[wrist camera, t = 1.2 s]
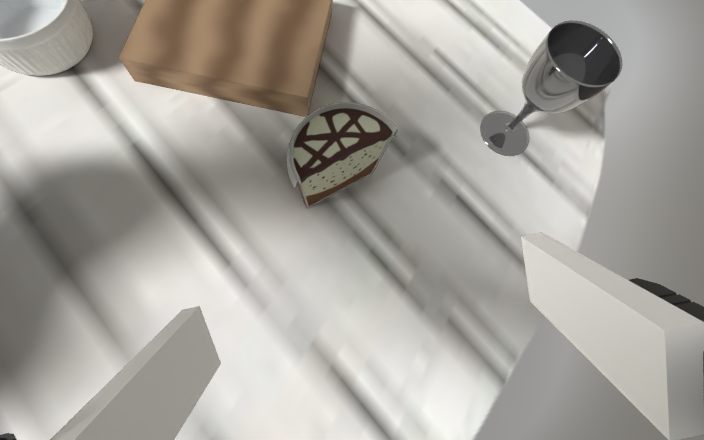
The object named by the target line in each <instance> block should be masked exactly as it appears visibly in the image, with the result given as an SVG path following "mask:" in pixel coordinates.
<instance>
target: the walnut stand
mask: <svg viewBox="0 0 704 440" xmlns="http://www.w3.org/2000/svg"><path fill="white" fill-rule="evenodd" d="M331 13H332V0H145V2H144V5H143V7H142V9H141V11H140V13H139V15H138V17H137V20H136V22H135V24H134V26H133V28H132V30H131V33H130V35H129V37H128V39H127V41H126V43H125V45H124V48H123V50H122V52H121V54H120V56H119V58H120V60H121V61H122V63H123V64H124V66H125V67H126V69H127V70H128V72H129V73H130V75H131V76H132V78H133V79H134V81H138V82H143V83H148V84H152V85H157V86H162V87H167V88H171V89H176V90H181V91H186V92H191V93H195V94H200V95H205V96H210V97H214V98H219V99H224V100H229V101H234V102H238V103H243V104H248V105H253V106H257V107H262V108H267V109H272V110H277V111H281V112H286V113H291V114H296V115H300V116H305V117H307V116H308V111H309V107H310V103H311V99H312V94H313V90H314V86H315V81H316V77H317V73H318V69H319V64H320V60H321V56H322V52H323V47H324V43H325V39H326V35H327V30H328V26H329V22H330V17H331Z"/></svg>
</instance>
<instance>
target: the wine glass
mask: <svg viewBox="0 0 704 440" xmlns="http://www.w3.org/2000/svg"><path fill="white" fill-rule="evenodd" d="M621 69H622V58H621V54H620V51H619V49H618V47H617V46H616V44H615V43H614V41H613V40H612V39H611V38H610V37H609V36H608V35H607V34H606V33H604V32H603V31H602V30H600V29H599V28H597V27H595V26H593V25H591V24H588V23H585V22H580V21H565V22H562V23H560V24H558V25H556V26H555V27H554V28H553V29H552V30H551V31H550V32H549V33H548V34H547V36H546V37H545V38H544V39H543V41H542V42H541V43H540V45H539V46H538V48H537V49H536V51H535V52H534V54H533V56H532V57H531V59H530V61H529V62H528V65H527V67H526V69H525V71H524V75H523V78H522V91H523V94H524V98H525V104H524V107H523V108H522V110H521V111H520V113H519V114H518V116H515V115H514V114H512V113H510V112H506V111H494V112H491V113H489V114H488V115H486V116H485V117H484V119H483V120H482V123H481V127H480V129H481V135H482V138H483V140H484V142H485V143H486V144H487V145H488V147H489V148H491V149H492V150H493V151H495V152H496V153H499V154H501V155H505V156H515V155H518V154H520V153H522V152H523V151H524V150H525V149H526V148H527V146H528V143H529V132H528V129H527V127H526V125H525V124H524V123H523V121H522V120H523V119H524V118H526V117H527V116H529V115H530V114H532V113H534V112H544V113H562V112H565V111H568V110H571V109H573V108H575V107H577V106H579V105H581V104H583V103H585V102H586V101H588V100H589V99H591V98H593V97H594V96H595V95H597V94H598V93H599V92H601V91H602V90H603V89H605V88H606V87H607V86H608V85H610V84H611V83H612V82H613V81H614V80H615V79H616V78H617V77H618V76H619V74H620V72H621Z"/></svg>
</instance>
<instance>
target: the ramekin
mask: <svg viewBox="0 0 704 440" xmlns="http://www.w3.org/2000/svg"><path fill="white" fill-rule="evenodd" d="M92 39H93V30H92V25H91V22H90V19H89V17H88V15H87V13H86V11H85V9H84V7H83V5H82V3H81V2H80V0H0V65H1V66H3V67H5V68H7V69H9V70H11V71H14V72H17V73H21V74H25V75H36V76H44V75H52V74H57V73H60V72H63V71H65V70H68V69H70V68H71V67H73V66H75V65H76V64H77V63H79V62H80V61H81V60H82V59H83V58H84V57H85V55H86V54H87V53H88V51H89V49H90V46H91V43H92Z"/></svg>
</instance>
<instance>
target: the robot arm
mask: <svg viewBox="0 0 704 440" xmlns="http://www.w3.org/2000/svg"><path fill="white" fill-rule="evenodd" d="M521 240H522V247H523V254H524V262H525V269H526V276H527V284H528V291H529V298H530V302H531V303H532V304H533V305H534V306H535V307H536V308H537V309H538V310H539V311H540V312H541V313H542V314H543V315H544V316H545V317H546V318H547V319H548V320H549V321H550V322H551V323H552V324H553V325H554V326H555V327H556V328H557V329H558V330H559V331H560V332H561V333H562V334H563V335H564V336H565V337H566V338H567V339H568V340H569V341H570V342H571V343H572V344H573V345H574V346H575V347H576V348H577V349H578V350H579V351H580V352H581V353H582V354H583V355H584V356H585V357H586V358H587V359H588V360H590V362H591V363H592V364H593V365H594V366H595V367H596V368H597V369H598V370H599V371H600V372H601V373H602V374H603V375H604V376H605V377H606V378H607V379H608V380H609V381H610V382H611V383H612V384H613V385H614V386H615V387H616V388H617V389H618V390H619V391H620V392H621V393H622V394H623V395H624V396H625V397H626V398H627V399H628V400H629V401H630V402H631V403H632V404H633V405H634V406H635V407H636V408H637V409H638V410H639V411H640V412H641V413H642V414H643V415H644V416H645V417H646V418H647V419H648V420H649V421H650V422H651V423H652V424H653V425H654V426H655V427H656V428H657V429H658V430H659V431H660V432H661V433H662V434H663V435H664V436H665V437H666V438H667V439H668V440H678V439H684V438H690V437H696V436H703V435H704V307H703V306H701V305H699V304H697V303H695V302H691V301H690V300H689V299H687V298H685V297H683V296H681V295H677V294H676V293H675V292H673V291H671V290H669V289H667V288H666V287H664V286H662V285H660V284H657V283H653V282H649V281H645V280H642V279H638V278H636V279H631V280H627V279H625V278H623V277H621V276H619V275H618V274H616V273H614V272H612V271H610V270H608V269H607V268H605V267H603V266H601V265H600V264H598V263H596V262H594V261H592V260H591V259H589V258H587V257H585V256H583V255H582V254H580V253H578V252H576V251H574V250H572V249H571V248H569V247H567V246H565V245H563V244H562V243H560V242H558V241H556V240H554V239H553V238H551V237H549V236H547V235H545V234H544V233H542V232H541V233H536V234H531V235H527V236H522V237H521ZM220 364H221V362H220V360H219V357H218V354H217V352H216V349H215V346H214V344H213V341H212V338H211V336H210V333H209V330H208V328H207V325H206V322H205V320H204V317H203V314H202V311H201V309H200V306H198V307H194V308H189V309H185V310H182V311H181V312H180V313H179V314H178V315H177V316H176V317H175V318H174V319H173V320H172V321H171V322H170V323H169V324H168V325H166V326H165V327H164V328H163V329H162V330H161V331H160V332H159V333H158V334H157V335H156V336H155V337H154V338H153V339H152V340H151V341H150V342H149V343H148V344H147V345H146V346H145V347H144V348H143V349H142V350H141V351H140V352H139V353H138V354H137V355H136V356H135V357H134V358H133V359H132V360H131V361H130V362H129V363H128V364H127V365H126V366H125V367H124V368H123V369H122V370H121V371H120V372H119V373H118V374H117V375H116V376H115V377H114V378H113V379H112V380H111V381H110V382H109V383H108V384H107V385H106V386H105V387H104V388H102V389H101V390H100V391H99V392H98V393H97V394H96V395H95V396H94V397H93V398H92V399H91V400H90V401H89V402H88V403H87V404H86V405H85V406H84V407H83V408H82V409H81V410H80V411H79V412H78V413H77V414H76V415H75V416H74V417H73V418H72V419H71V420H70V421H69V422H68V423H67V424H66V425H65V426H64V427H63V428H62V429H61V430H60V431H59V432H58V433H57V434H55V435H54V436H53V437H52V438H51V439H50V440H174V439H175V437H176V436H177V434H178V432H179V431H180V429H181V428H182V426H183V424H184V423H185V421H186V419H187V418H188V416H189V415H190V413H191V411H192V410H193V408H194V406H195V405H196V403H197V401H198V400H199V398H200V397H201V395H202V393H203V392H204V390H205V388H206V387H207V385H208V384H209V382H210V380H211V379H212V377H213V375H214V374H215V372H216V370H217V369H218V367H219V366H220ZM0 440H17V439H16V438H15V436H14V434H9V433H7V434H3V435H0Z"/></svg>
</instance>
